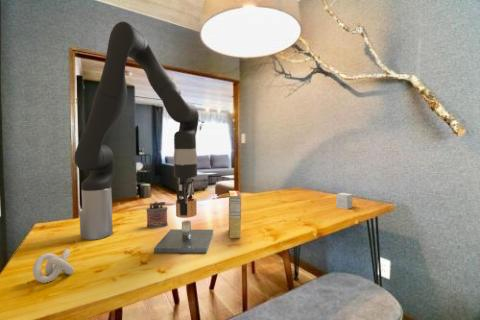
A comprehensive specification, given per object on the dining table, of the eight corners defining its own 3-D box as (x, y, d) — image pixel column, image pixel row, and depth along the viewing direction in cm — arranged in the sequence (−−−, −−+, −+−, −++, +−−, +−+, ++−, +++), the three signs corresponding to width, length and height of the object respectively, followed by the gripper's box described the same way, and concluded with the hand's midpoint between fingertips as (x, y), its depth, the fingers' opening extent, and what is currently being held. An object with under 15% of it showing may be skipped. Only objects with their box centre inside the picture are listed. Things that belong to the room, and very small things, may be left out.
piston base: (154, 252, 70) (153, 230, 70) (170, 233, 86) (170, 214, 86) (206, 253, 70) (206, 230, 70) (213, 233, 86) (213, 215, 86)
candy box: (228, 229, 90) (228, 190, 89) (239, 229, 90) (239, 190, 90) (229, 238, 81) (229, 195, 80) (241, 238, 82) (241, 195, 81)
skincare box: (341, 205, 127) (341, 192, 127) (352, 207, 122) (352, 194, 122) (335, 207, 123) (336, 193, 123) (347, 209, 119) (347, 195, 118)
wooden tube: (173, 217, 74) (173, 202, 74) (179, 212, 81) (179, 198, 81) (194, 217, 74) (194, 202, 74) (198, 212, 81) (198, 197, 81)
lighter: (146, 228, 92) (145, 203, 91) (147, 225, 95) (146, 201, 94) (167, 226, 94) (167, 202, 93) (167, 223, 97) (167, 200, 96)
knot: (84, 270, 60) (84, 248, 60) (53, 288, 53) (52, 263, 52) (62, 266, 62) (61, 245, 62) (28, 283, 55) (27, 259, 54)
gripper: (180, 161, 84) (181, 206, 85) (167, 164, 69) (168, 218, 70) (200, 161, 84) (201, 206, 85) (191, 164, 69) (192, 218, 70)
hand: (186, 211), depth 77 cm, fingers closed on wooden tube, 6 cm apart
